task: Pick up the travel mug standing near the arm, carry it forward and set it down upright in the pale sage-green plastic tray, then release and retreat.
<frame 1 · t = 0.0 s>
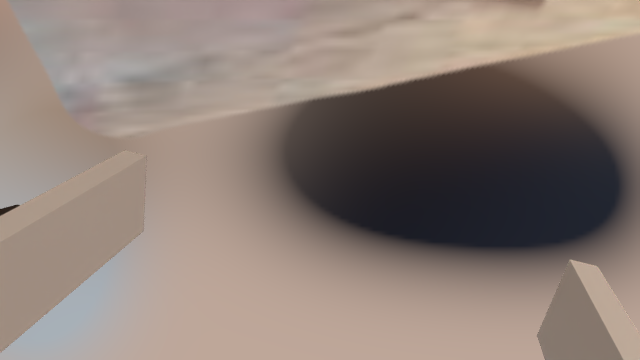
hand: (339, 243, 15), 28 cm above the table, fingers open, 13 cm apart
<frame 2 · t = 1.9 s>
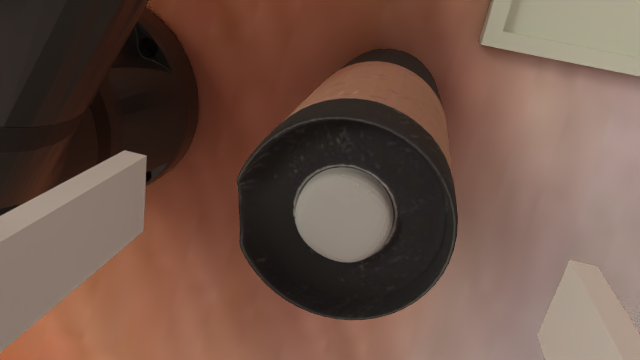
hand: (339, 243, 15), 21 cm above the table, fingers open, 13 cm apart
travel mug: (385, 100, 35), on the table
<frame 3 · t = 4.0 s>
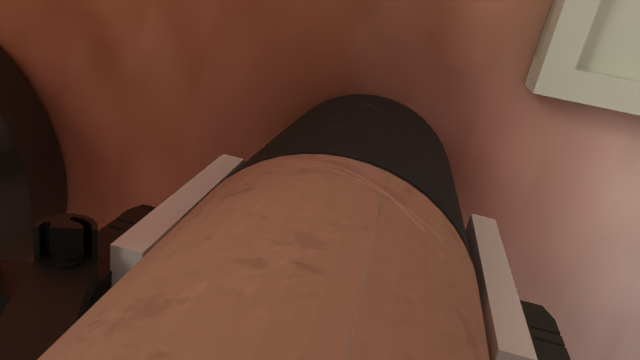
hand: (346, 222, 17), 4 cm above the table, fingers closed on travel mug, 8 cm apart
travel mug: (362, 176, 21), on the table, touching gripper
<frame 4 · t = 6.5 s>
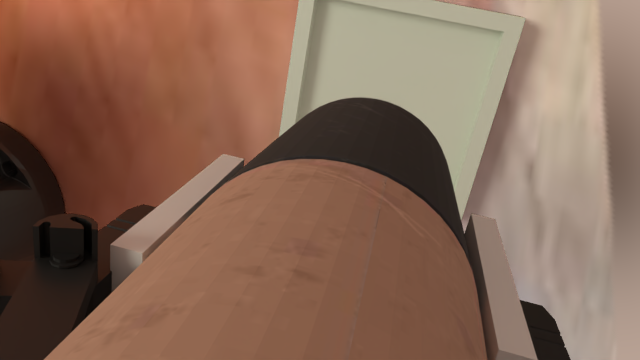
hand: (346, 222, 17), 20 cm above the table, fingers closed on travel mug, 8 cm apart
tray: (387, 100, 35), on the table
travel mug: (361, 179, 21), point 16 cm above the table, touching gripper
when the fingers open (6 cm above the table, at t = 9.3 s): travel mug drops 1 cm, resting on tray.
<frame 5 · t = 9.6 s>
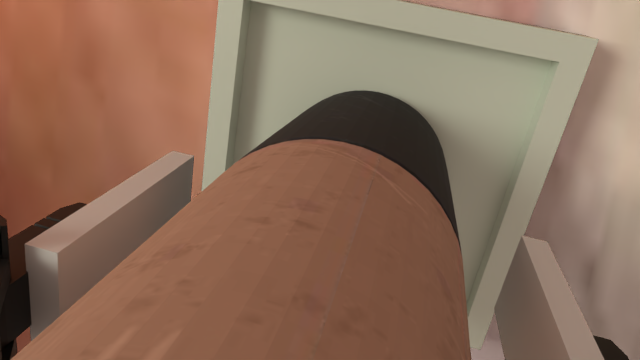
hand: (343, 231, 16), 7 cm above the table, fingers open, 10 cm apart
tray: (366, 163, 22), on the table
travel mug: (363, 168, 22), resting on tray
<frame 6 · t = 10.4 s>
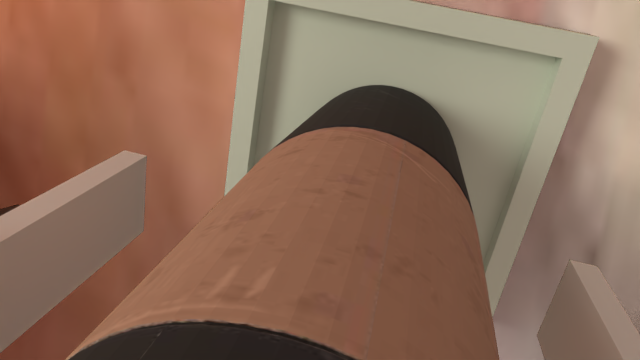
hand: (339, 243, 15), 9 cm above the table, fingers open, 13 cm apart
tray: (381, 153, 24), on the table
travel mug: (377, 158, 23), resting on tray
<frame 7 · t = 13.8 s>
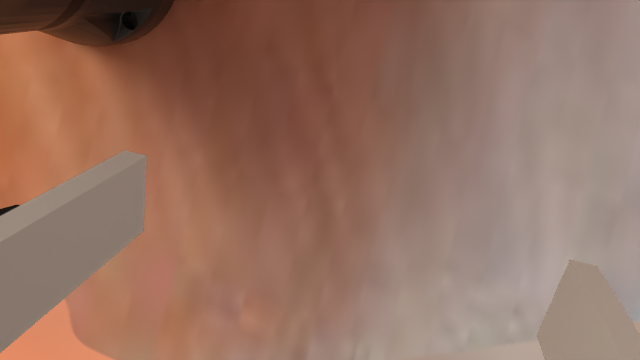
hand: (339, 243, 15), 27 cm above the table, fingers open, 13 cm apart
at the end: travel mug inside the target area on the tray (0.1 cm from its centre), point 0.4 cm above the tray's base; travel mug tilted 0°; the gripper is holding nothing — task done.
